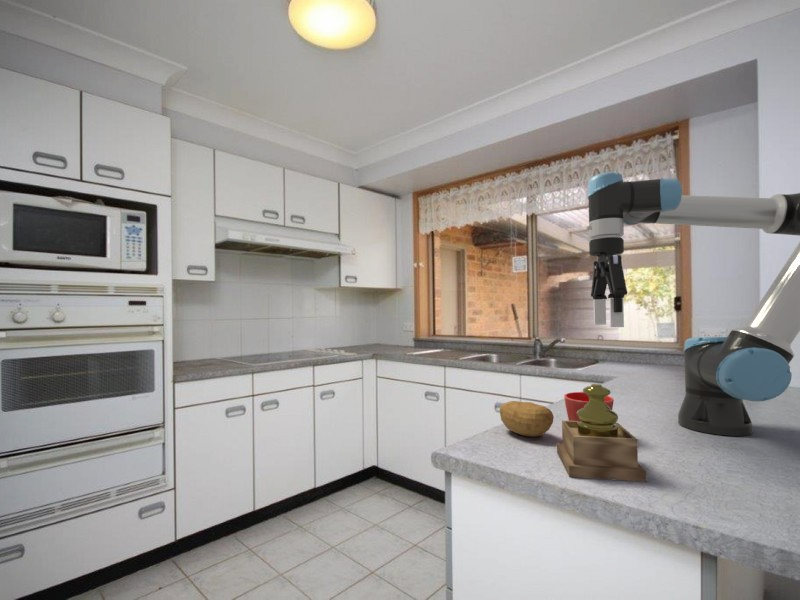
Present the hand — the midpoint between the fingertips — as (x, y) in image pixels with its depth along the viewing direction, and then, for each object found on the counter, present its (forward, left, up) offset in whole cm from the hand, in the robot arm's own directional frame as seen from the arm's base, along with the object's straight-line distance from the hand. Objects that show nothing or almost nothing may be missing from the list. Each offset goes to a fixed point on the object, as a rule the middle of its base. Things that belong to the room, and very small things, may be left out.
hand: (607, 325), depth 100 cm
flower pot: (+5, +1, -27) cm, 27 cm away
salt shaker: (+8, +20, -21) cm, 30 cm away
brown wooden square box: (+8, +20, -27) cm, 34 cm away
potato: (+20, +2, -27) cm, 34 cm away
